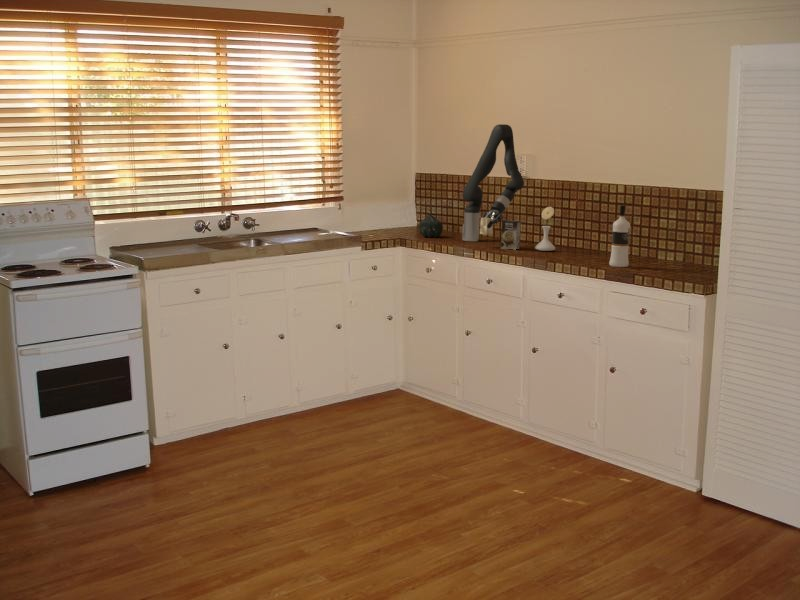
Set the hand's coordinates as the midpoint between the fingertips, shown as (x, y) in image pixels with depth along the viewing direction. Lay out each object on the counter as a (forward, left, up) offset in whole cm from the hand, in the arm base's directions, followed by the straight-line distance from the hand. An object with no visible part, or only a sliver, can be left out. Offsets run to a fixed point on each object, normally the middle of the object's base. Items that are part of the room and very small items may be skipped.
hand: (484, 226), depth 503 cm
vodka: (+92, +2, -12) cm, 93 cm away
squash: (-59, +12, -12) cm, 61 cm away
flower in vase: (+29, +20, -12) cm, 37 cm away
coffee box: (+13, +8, -12) cm, 20 cm away
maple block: (0, +2, -4) cm, 5 cm away
